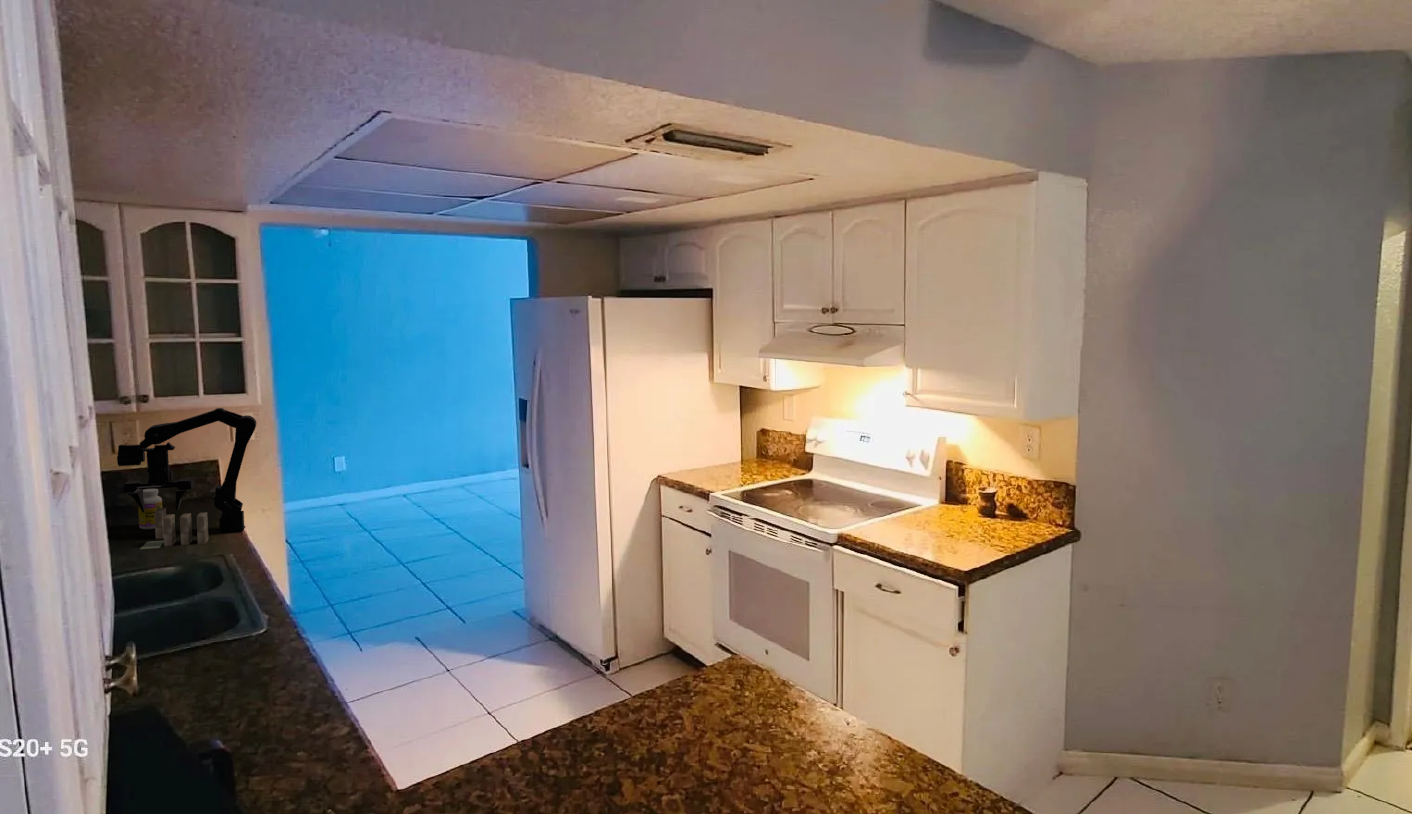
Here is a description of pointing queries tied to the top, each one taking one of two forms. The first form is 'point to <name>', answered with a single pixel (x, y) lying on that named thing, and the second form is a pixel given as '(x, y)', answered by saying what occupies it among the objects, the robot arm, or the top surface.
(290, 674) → the top surface
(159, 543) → the gap pad
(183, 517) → the domino
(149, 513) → the supplement bottle
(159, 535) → the tile
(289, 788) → the top surface
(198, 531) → the domino
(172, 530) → the domino
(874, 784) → the top surface
